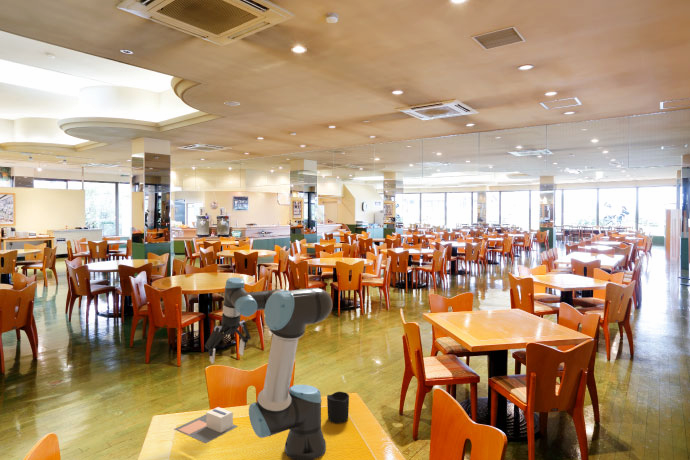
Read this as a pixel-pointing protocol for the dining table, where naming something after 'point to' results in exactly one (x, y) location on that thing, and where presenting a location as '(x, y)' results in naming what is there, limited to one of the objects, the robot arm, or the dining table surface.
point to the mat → (201, 430)
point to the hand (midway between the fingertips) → (226, 357)
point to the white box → (219, 419)
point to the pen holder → (338, 407)
